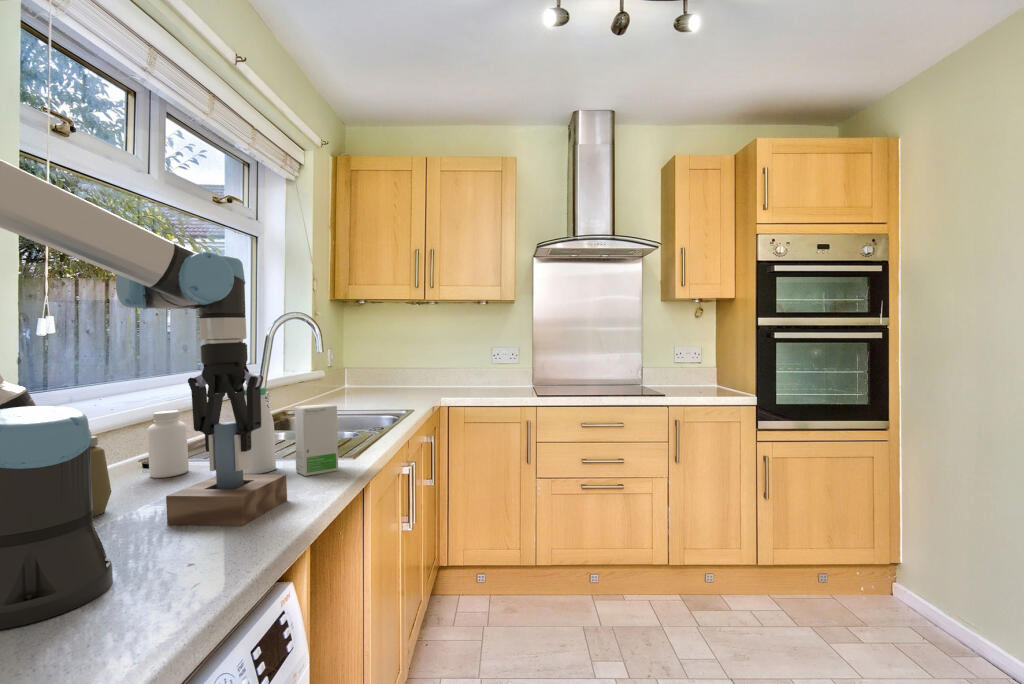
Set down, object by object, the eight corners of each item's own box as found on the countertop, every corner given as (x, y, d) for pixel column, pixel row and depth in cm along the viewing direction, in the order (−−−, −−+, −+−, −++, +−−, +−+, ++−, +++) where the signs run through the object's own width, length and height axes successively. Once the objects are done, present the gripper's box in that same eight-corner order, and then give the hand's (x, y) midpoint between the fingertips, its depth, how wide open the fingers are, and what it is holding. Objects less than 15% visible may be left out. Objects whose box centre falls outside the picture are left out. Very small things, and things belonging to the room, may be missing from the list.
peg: (234, 503, 97) (231, 425, 97) (211, 503, 97) (208, 425, 97) (249, 495, 101) (246, 421, 101) (227, 495, 102) (224, 421, 102)
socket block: (242, 525, 91) (241, 496, 91) (167, 524, 93) (166, 495, 93) (287, 500, 105) (286, 474, 105) (220, 499, 107) (219, 474, 107)
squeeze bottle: (81, 524, 95) (77, 422, 95) (44, 522, 97) (39, 421, 96) (123, 509, 103) (119, 414, 103) (88, 507, 104) (84, 414, 104)
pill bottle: (155, 472, 132) (152, 410, 132) (192, 468, 134) (190, 408, 134) (144, 480, 124) (141, 415, 124) (183, 476, 127) (181, 412, 127)
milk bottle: (282, 469, 131) (279, 386, 131) (252, 476, 124) (249, 390, 124) (263, 465, 135) (260, 385, 135) (233, 473, 128) (230, 389, 128)
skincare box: (304, 477, 123) (301, 408, 122) (294, 472, 128) (292, 406, 127) (340, 470, 128) (337, 404, 128) (329, 465, 133) (327, 402, 133)
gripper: (280, 340, 101) (285, 464, 102) (194, 342, 104) (200, 464, 104) (256, 340, 94) (261, 474, 94) (165, 343, 96) (170, 474, 97)
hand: (229, 468), depth 99 cm, fingers closed on peg, 4 cm apart
